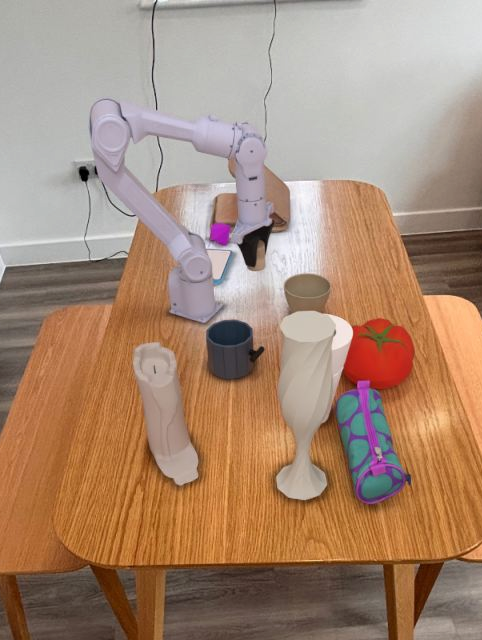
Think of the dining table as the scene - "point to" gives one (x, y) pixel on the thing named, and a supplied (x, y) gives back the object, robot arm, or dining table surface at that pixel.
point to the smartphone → (219, 263)
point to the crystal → (220, 233)
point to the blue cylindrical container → (231, 349)
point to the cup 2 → (339, 351)
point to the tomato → (379, 354)
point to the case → (275, 193)
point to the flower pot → (307, 292)
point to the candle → (164, 412)
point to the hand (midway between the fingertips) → (255, 260)
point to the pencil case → (369, 445)
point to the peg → (259, 258)
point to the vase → (305, 395)
